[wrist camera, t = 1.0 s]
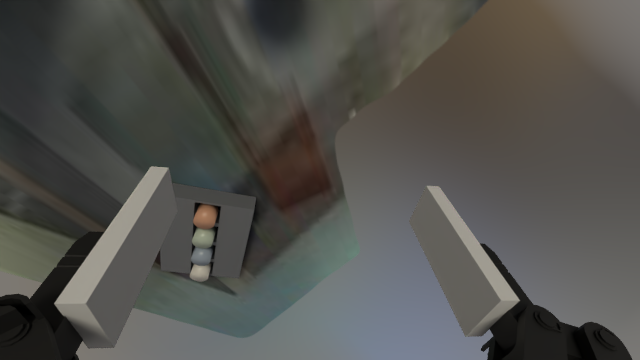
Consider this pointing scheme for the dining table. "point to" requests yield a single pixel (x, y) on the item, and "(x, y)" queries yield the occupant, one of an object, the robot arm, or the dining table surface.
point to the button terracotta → (205, 216)
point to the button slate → (202, 256)
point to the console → (227, 237)
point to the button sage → (204, 237)
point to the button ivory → (200, 272)
